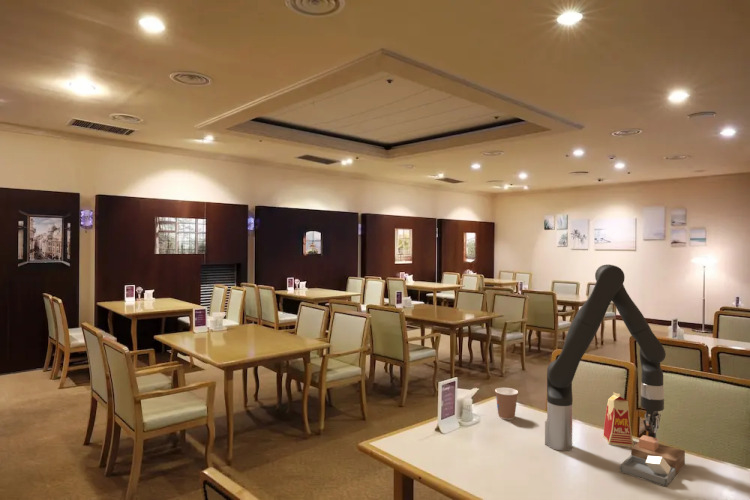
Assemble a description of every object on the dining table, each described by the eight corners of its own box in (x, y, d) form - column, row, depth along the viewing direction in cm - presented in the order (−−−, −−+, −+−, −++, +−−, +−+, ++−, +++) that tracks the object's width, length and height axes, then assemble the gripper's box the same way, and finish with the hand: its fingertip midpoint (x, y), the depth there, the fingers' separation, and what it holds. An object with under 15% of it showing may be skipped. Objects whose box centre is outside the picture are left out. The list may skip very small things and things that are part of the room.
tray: (620, 471, 162) (620, 464, 162) (631, 461, 170) (631, 455, 170) (666, 486, 152) (666, 479, 152) (675, 475, 160) (675, 468, 160)
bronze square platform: (631, 461, 170) (631, 448, 170) (641, 451, 178) (642, 438, 178) (675, 475, 160) (675, 461, 160) (684, 464, 168) (684, 450, 168)
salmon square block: (638, 446, 171) (639, 438, 171) (643, 442, 174) (643, 434, 174) (654, 451, 167) (654, 442, 167) (658, 447, 171) (658, 438, 171)
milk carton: (634, 446, 183) (634, 396, 182) (608, 444, 184) (609, 394, 184) (626, 437, 192) (626, 389, 191) (602, 435, 193) (602, 387, 193)
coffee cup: (499, 411, 221) (499, 386, 221) (521, 415, 216) (521, 390, 215) (491, 417, 213) (491, 391, 213) (513, 422, 207) (513, 395, 207)
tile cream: (656, 465, 162) (654, 473, 160) (648, 455, 161) (645, 462, 160) (670, 467, 157) (668, 474, 156) (662, 456, 157) (659, 464, 155)
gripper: (646, 389, 181) (646, 433, 181) (635, 397, 172) (635, 444, 172) (668, 393, 176) (668, 439, 176) (658, 402, 166) (658, 450, 167)
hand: (652, 441), depth 174 cm, fingers closed
